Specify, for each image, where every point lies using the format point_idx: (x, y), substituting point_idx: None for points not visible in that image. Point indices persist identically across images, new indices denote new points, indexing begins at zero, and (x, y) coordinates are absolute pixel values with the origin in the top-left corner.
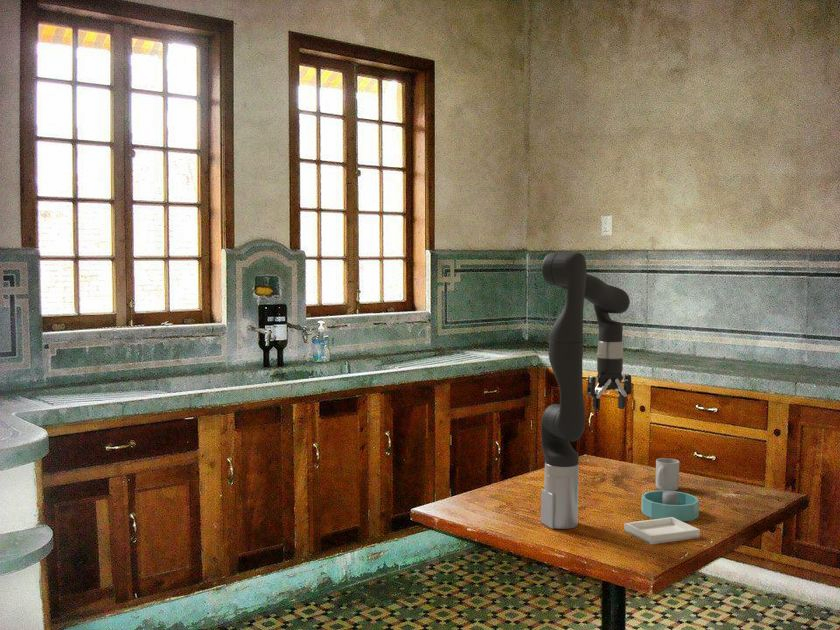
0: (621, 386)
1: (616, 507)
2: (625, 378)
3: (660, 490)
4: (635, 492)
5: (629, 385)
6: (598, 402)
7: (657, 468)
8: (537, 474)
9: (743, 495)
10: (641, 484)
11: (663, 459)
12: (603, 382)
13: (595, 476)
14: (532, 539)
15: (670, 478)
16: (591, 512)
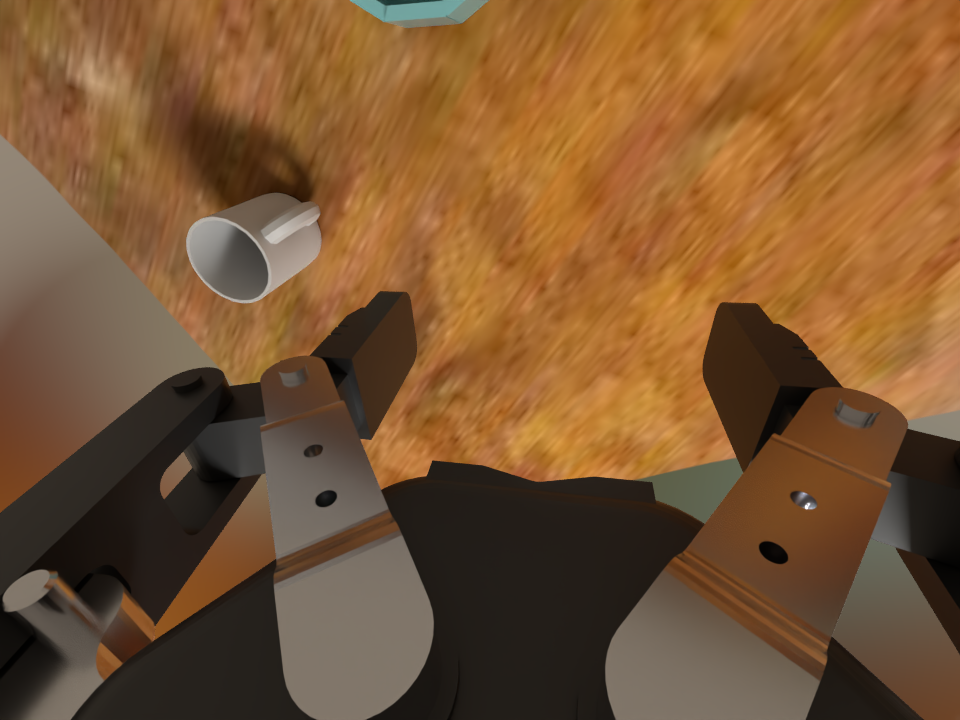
0: (288, 467)
1: (588, 58)
2: (36, 668)
3: (380, 16)
4: (410, 223)
5: (96, 473)
6: (788, 352)
7: (286, 258)
8: (586, 476)
9: (55, 49)
10: (350, 294)
11: (237, 297)
12: (856, 710)
13: (443, 406)
14: None
15: (265, 205)
16: (743, 17)
